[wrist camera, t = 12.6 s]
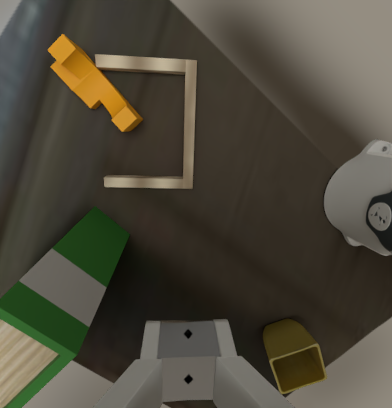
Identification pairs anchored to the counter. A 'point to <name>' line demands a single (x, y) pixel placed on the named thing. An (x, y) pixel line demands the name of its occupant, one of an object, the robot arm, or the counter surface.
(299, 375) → the flower pot
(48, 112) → the counter surface
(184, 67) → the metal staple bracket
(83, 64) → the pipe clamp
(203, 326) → the robot arm
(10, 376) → the hardback book
